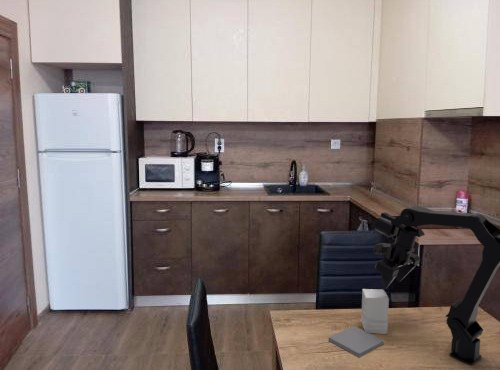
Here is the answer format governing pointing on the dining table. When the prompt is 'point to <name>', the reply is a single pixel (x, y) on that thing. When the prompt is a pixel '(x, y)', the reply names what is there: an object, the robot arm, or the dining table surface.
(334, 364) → the dining table surface
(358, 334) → the tile
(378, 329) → the supplement box
